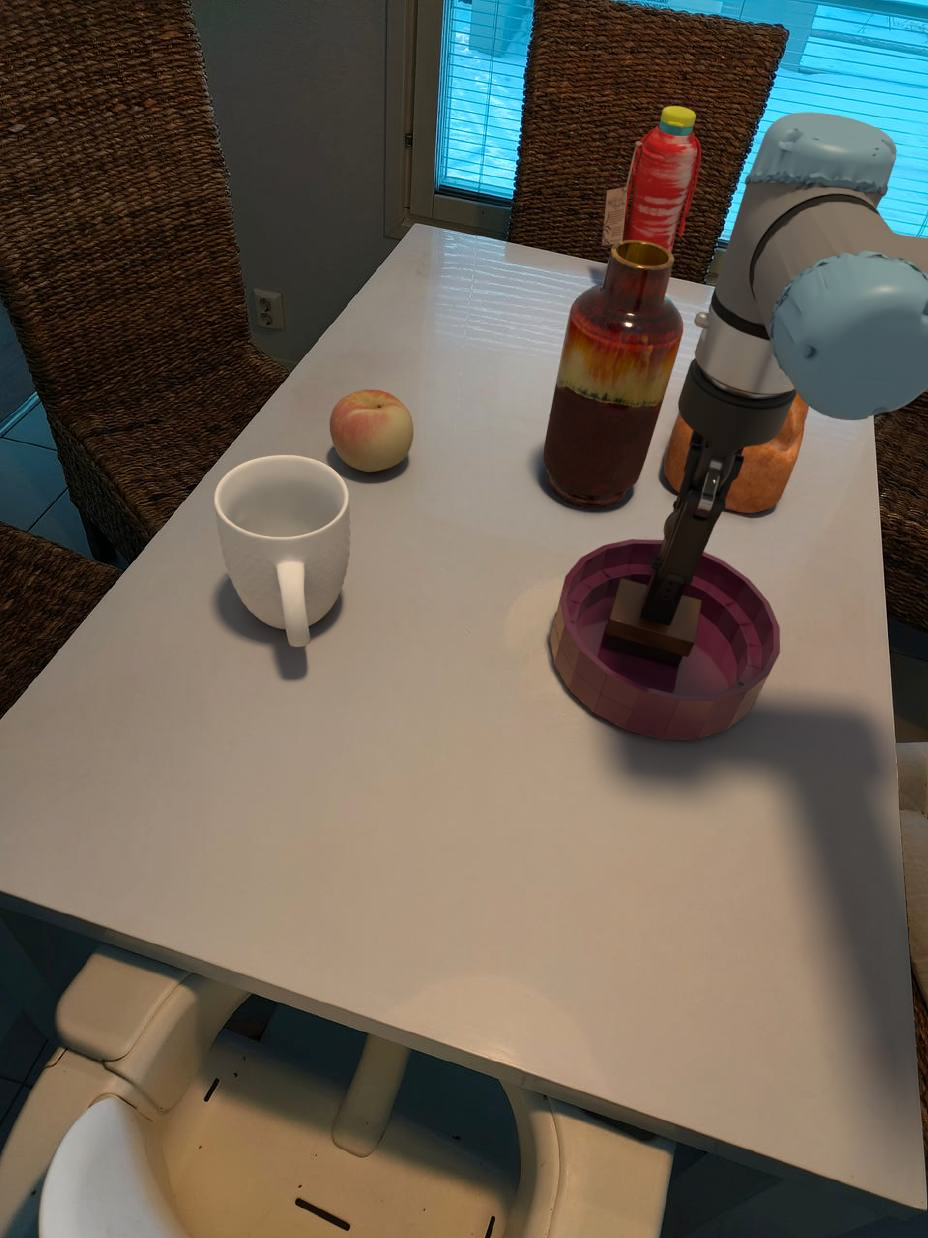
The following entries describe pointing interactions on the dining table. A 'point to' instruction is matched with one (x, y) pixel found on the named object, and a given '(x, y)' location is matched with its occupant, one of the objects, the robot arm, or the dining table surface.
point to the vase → (612, 377)
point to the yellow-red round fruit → (371, 430)
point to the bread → (748, 462)
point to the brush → (646, 634)
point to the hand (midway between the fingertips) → (658, 605)
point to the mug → (285, 539)
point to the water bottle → (657, 183)
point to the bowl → (651, 690)
